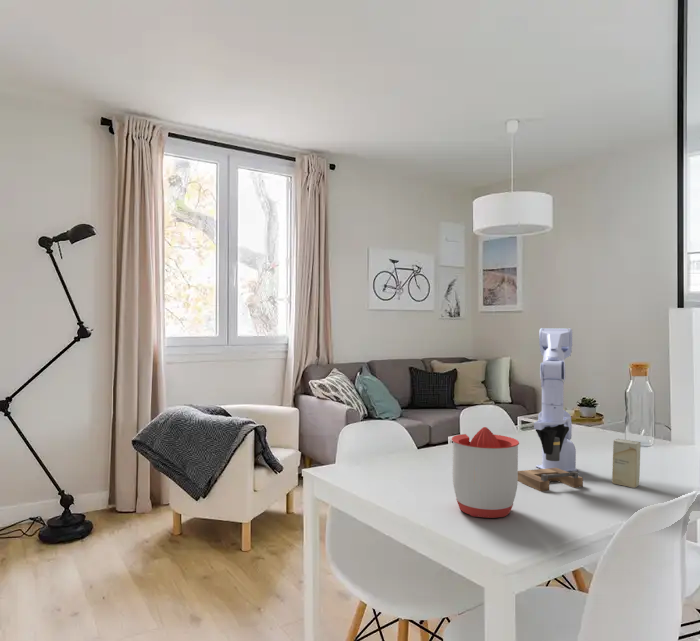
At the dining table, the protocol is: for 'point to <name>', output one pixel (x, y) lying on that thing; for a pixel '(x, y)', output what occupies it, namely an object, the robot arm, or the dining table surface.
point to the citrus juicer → (485, 473)
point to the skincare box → (626, 463)
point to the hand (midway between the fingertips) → (552, 452)
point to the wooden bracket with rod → (549, 478)
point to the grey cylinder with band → (555, 451)
